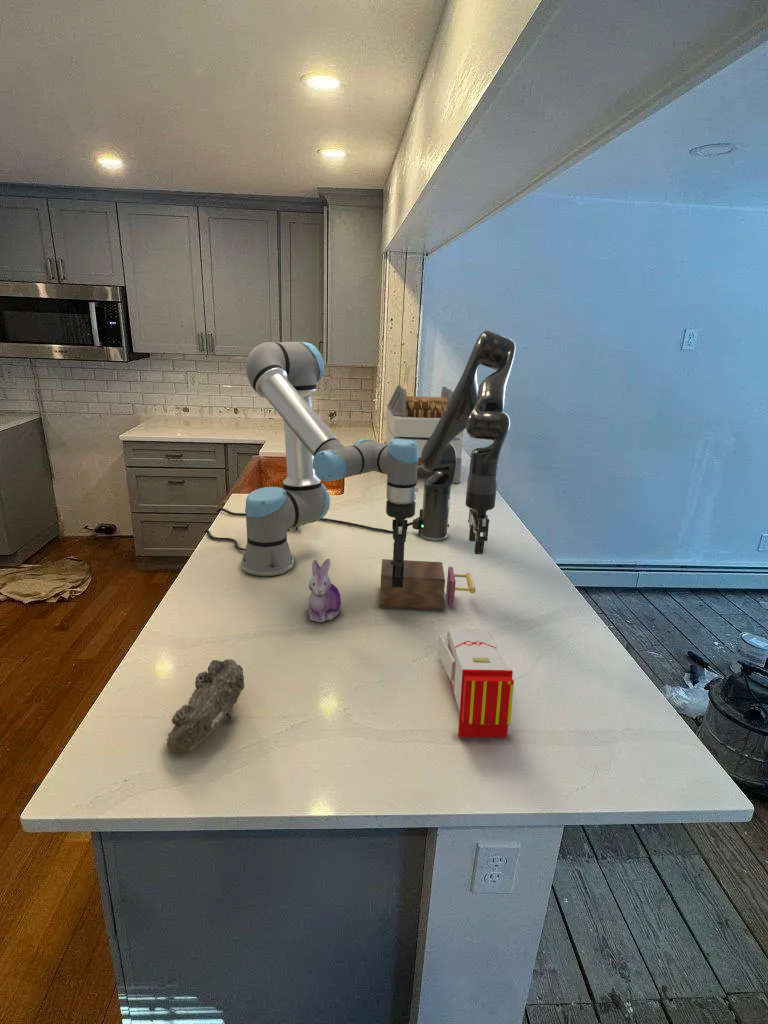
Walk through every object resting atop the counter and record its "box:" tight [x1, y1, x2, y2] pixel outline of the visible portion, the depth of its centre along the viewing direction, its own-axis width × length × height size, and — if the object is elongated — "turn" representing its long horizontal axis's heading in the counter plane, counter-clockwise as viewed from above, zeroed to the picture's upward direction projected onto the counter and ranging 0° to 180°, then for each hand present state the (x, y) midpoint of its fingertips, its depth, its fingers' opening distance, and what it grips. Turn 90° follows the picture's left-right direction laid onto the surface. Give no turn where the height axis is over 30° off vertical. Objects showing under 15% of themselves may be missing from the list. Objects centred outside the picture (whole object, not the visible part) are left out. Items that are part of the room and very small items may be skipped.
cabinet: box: [379, 558, 446, 612], centre depth 153 cm, size 17×10×9 cm, turn 88°
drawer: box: [443, 566, 477, 608], centre depth 153 cm, size 21×9×8 cm, turn 88°
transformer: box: [383, 384, 465, 484], centre depth 268 cm, size 34×33×41 cm
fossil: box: [166, 658, 245, 754], centre depth 106 cm, size 22×10×15 cm
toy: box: [437, 628, 515, 738], centre depth 117 cm, size 12×13×30 cm
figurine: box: [308, 558, 342, 623], centre depth 143 cm, size 9×10×15 cm
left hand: (397, 575), depth 152 cm, fingers open, 13 cm apart
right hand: (475, 547), depth 151 cm, fingers open, 8 cm apart
